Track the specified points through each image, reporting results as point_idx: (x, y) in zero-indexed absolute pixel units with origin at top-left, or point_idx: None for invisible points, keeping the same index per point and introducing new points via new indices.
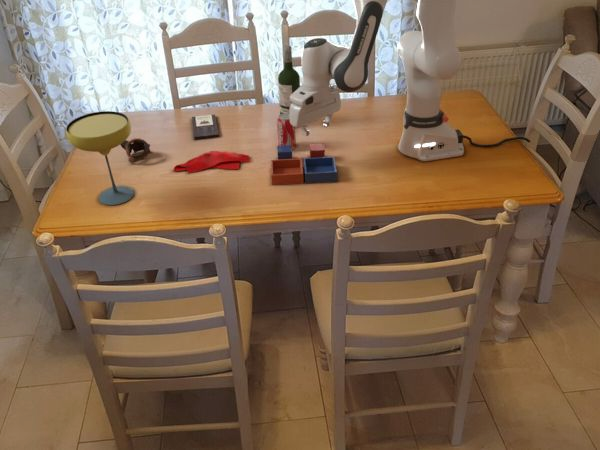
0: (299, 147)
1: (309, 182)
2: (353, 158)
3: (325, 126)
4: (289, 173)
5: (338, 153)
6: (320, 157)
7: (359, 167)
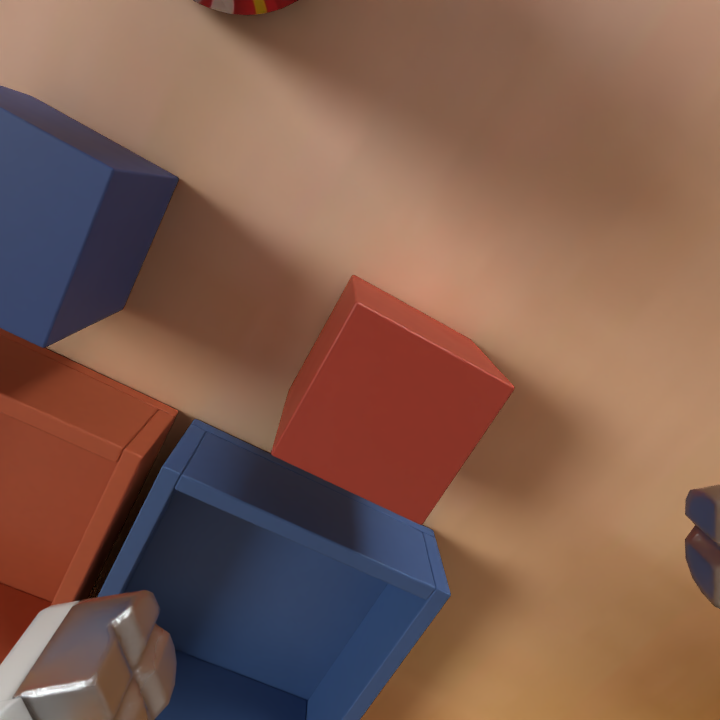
0: (372, 7)
1: None
2: (642, 518)
3: (699, 561)
4: (13, 463)
5: (611, 380)
6: (330, 543)
7: (574, 639)
